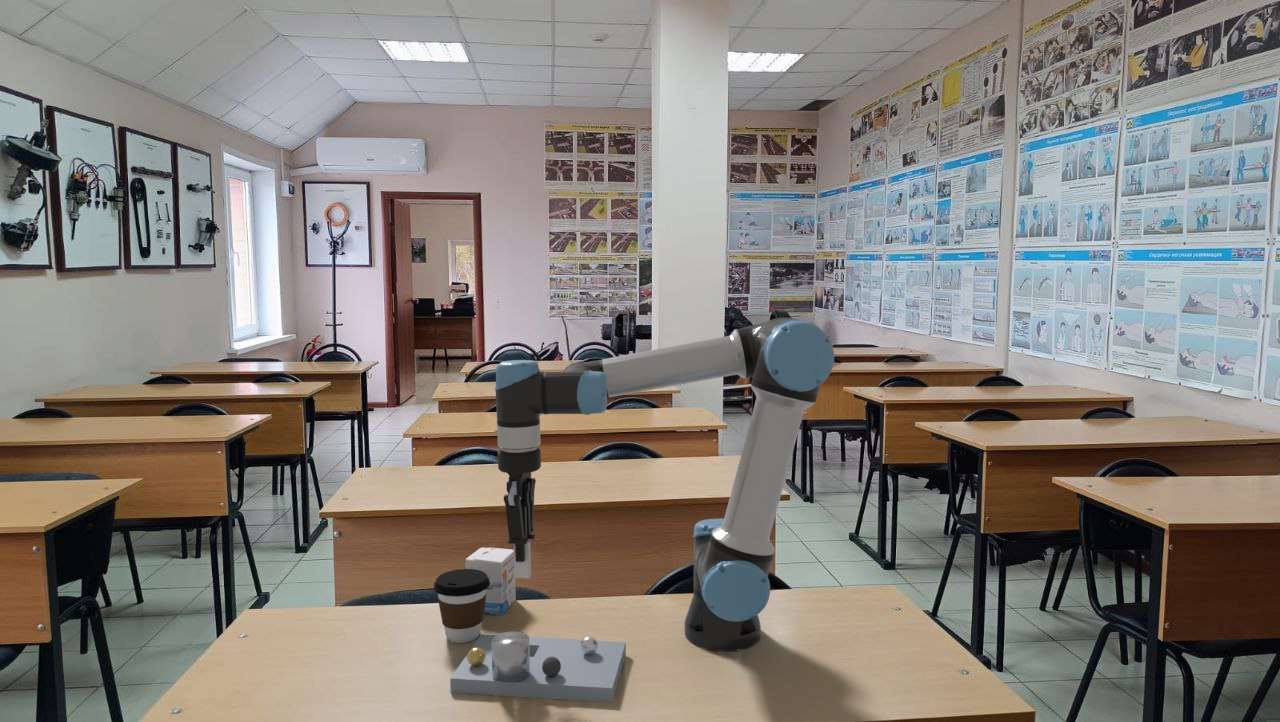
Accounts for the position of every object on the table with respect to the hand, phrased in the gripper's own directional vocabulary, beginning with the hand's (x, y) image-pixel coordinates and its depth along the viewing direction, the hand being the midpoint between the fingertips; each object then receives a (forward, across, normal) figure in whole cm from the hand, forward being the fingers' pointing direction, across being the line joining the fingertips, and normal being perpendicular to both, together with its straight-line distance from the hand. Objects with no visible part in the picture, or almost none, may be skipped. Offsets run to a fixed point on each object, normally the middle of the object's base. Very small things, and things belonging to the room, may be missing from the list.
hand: (522, 576), depth 141 cm
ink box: (+17, -26, -14) cm, 35 cm away
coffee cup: (+17, -11, -16) cm, 26 cm away
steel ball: (+13, -2, +12) cm, 18 cm away
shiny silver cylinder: (+14, +7, 0) cm, 16 cm away
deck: (+17, +1, +4) cm, 18 cm away
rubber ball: (+13, +7, +6) cm, 16 cm away
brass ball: (+13, +5, -8) cm, 16 cm away
